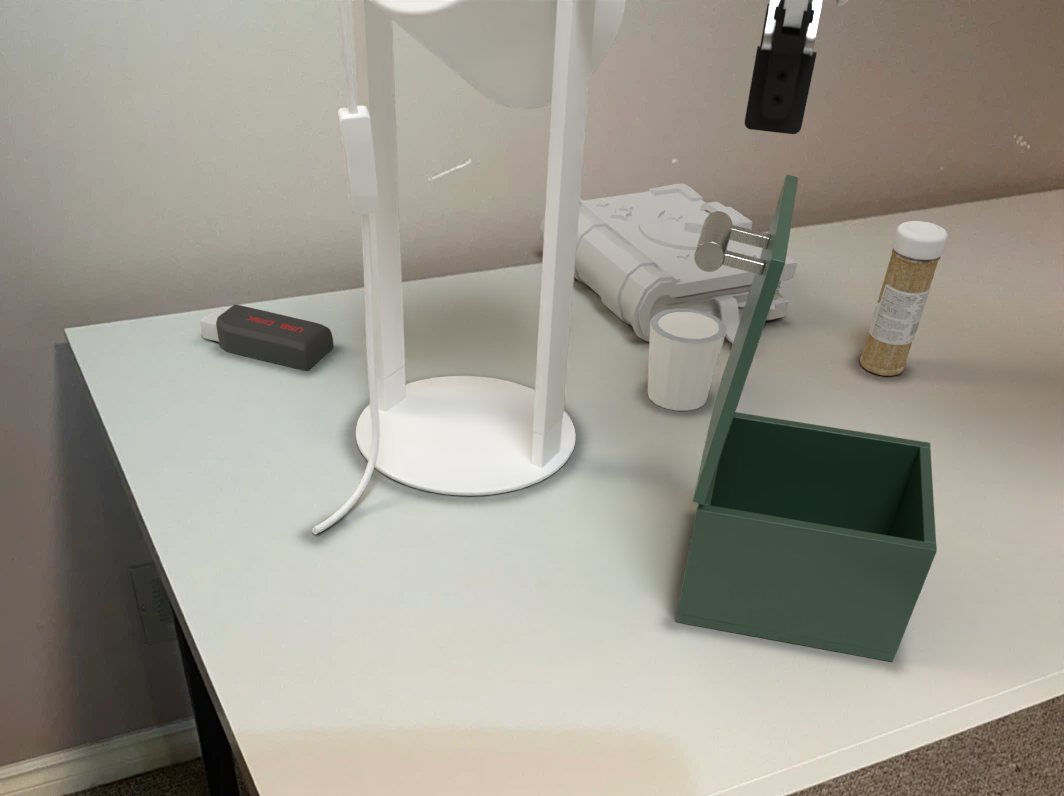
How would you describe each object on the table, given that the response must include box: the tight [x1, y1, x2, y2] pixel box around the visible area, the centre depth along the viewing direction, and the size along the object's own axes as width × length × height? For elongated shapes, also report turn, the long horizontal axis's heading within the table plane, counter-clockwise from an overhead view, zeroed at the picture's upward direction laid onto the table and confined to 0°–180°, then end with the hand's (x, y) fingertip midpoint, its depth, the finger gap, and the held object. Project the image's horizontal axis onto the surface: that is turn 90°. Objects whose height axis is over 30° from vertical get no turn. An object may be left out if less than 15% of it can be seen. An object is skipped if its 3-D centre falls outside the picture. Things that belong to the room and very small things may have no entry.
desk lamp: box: [311, 0, 627, 535], centre depth 77 cm, size 21×32×45 cm, turn 150°
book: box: [539, 183, 798, 345], centre depth 113 cm, size 19×28×8 cm
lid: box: [692, 174, 799, 505], centre depth 70 cm, size 16×14×5 cm
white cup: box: [647, 309, 727, 412], centre depth 99 cm, size 7×7×7 cm
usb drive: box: [199, 303, 335, 372], centre depth 103 cm, size 5×12×3 cm, turn 69°
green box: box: [675, 411, 938, 663], centre depth 78 cm, size 16×14×10 cm
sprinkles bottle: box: [859, 220, 949, 377], centre depth 102 cm, size 5×5×13 cm
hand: (776, 104), depth 65 cm, fingers open, 9 cm apart
